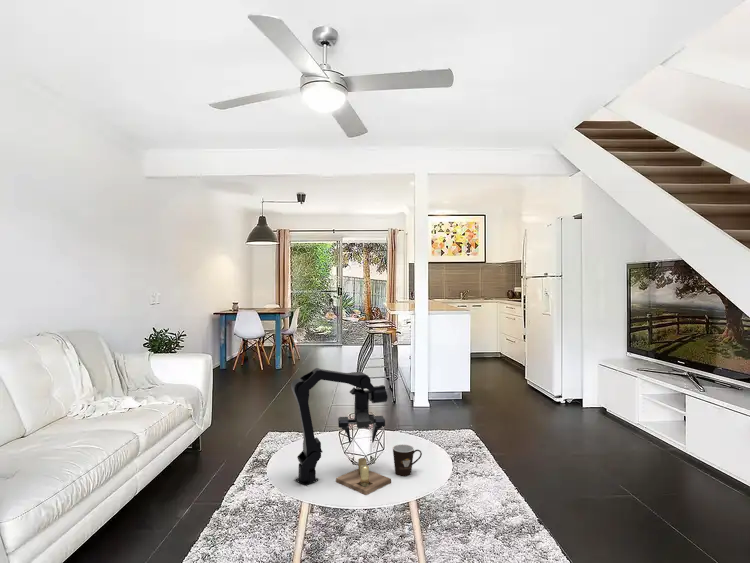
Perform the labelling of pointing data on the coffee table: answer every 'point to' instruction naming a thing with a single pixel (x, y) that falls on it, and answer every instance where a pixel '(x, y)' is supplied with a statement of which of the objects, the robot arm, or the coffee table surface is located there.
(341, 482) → the pin board
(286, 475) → the coffee table surface
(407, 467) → the coffee mug
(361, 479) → the brass pin
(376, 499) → the coffee table surface
